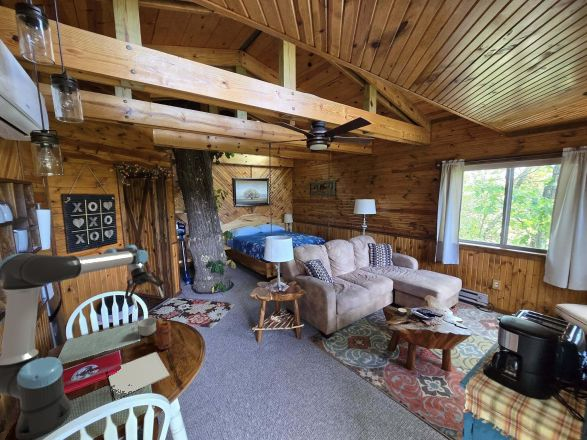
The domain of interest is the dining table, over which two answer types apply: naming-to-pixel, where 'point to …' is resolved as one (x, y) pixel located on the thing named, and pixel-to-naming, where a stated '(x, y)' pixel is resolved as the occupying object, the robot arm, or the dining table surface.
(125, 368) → the placemat
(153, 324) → the teacup
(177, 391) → the dining table surface
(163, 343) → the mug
